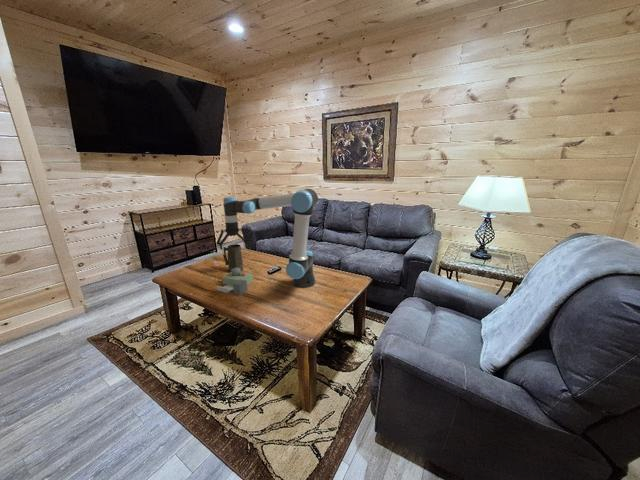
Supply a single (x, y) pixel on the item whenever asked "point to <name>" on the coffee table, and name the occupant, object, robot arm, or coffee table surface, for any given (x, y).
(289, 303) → the coffee table surface
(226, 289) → the green base with dome
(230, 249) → the beer stein
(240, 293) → the tall grey cuboid
